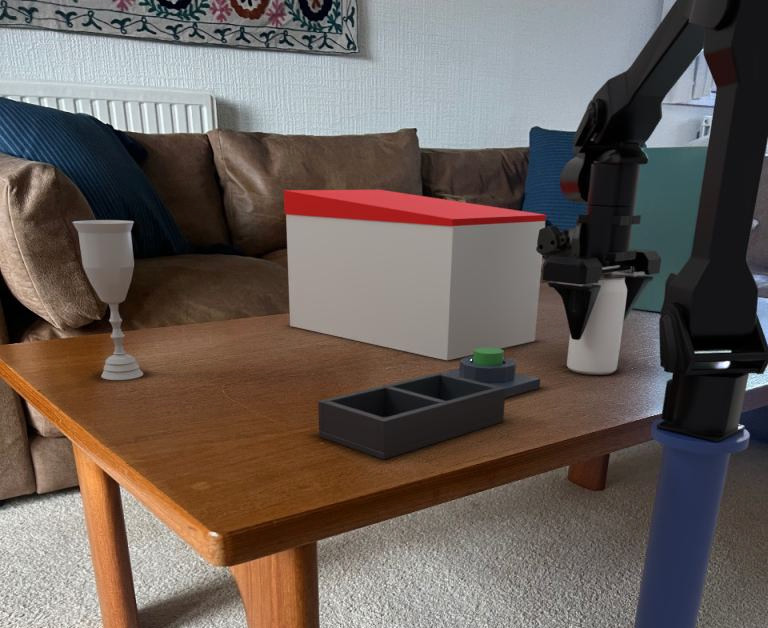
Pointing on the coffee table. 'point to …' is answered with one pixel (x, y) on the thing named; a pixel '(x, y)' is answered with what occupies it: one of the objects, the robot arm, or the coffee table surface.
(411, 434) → the divided tray
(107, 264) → the chalice
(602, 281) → the can
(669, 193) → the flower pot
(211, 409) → the coffee table surface
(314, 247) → the red-topped white box
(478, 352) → the button
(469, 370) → the grey button base
